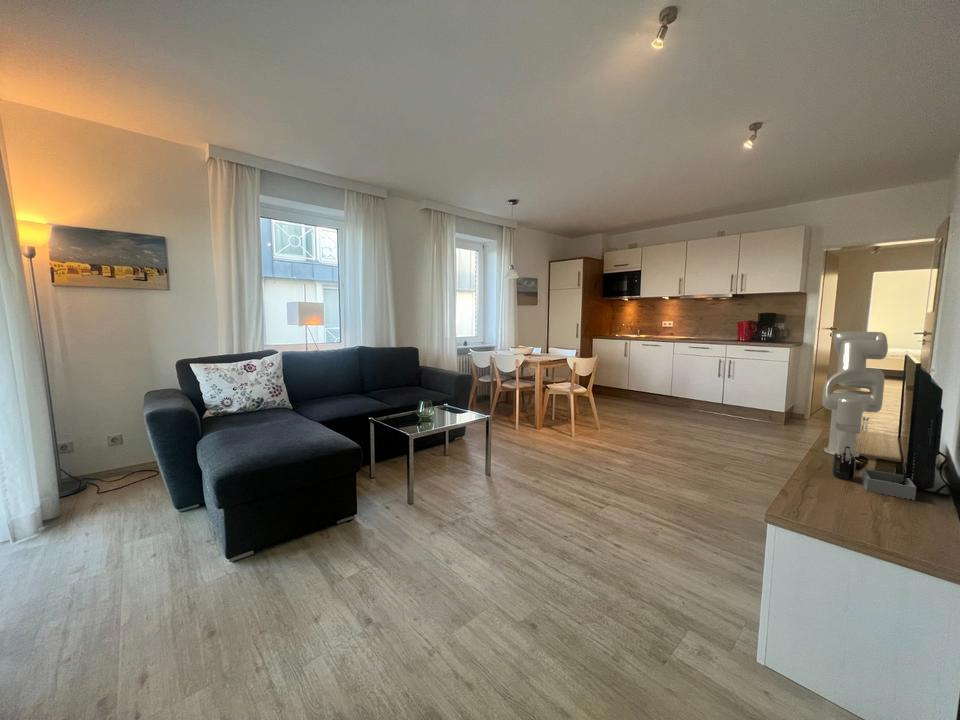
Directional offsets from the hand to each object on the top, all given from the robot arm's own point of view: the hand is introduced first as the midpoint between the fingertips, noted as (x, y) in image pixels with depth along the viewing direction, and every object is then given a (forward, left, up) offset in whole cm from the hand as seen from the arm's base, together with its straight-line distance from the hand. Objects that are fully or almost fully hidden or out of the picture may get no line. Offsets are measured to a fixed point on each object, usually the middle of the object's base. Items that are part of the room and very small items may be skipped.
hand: (843, 468), depth 161 cm
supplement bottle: (0, 0, -4) cm, 4 cm away
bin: (+6, +12, -4) cm, 14 cm away
